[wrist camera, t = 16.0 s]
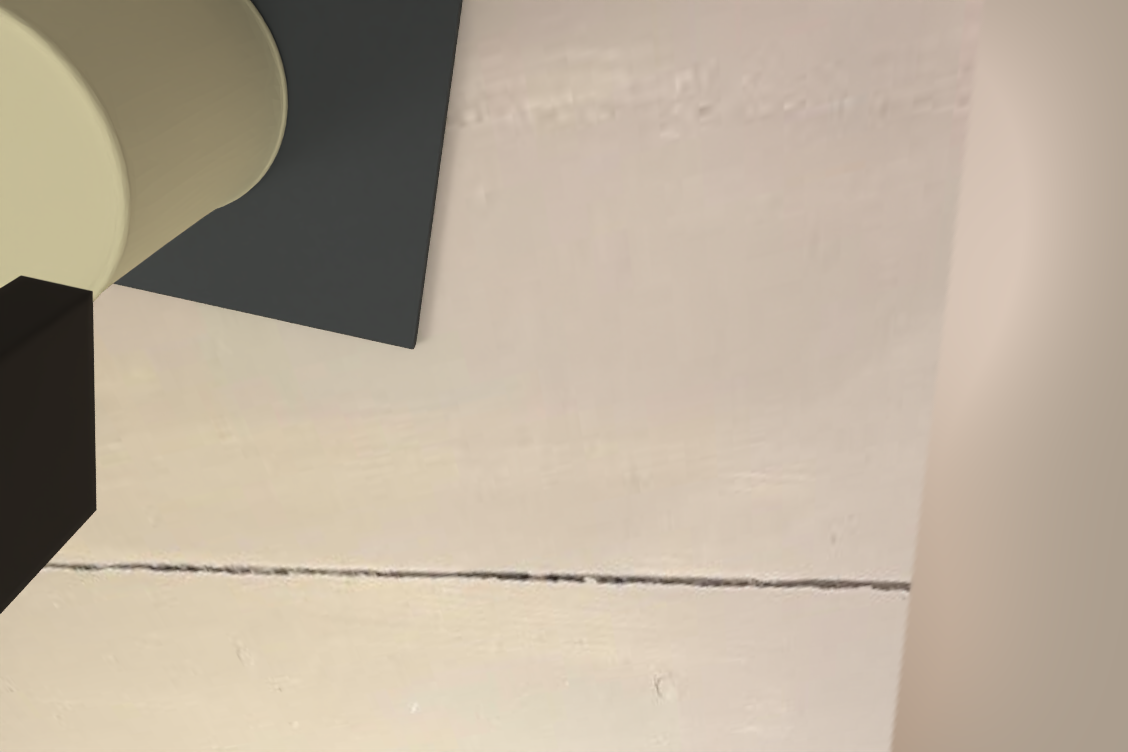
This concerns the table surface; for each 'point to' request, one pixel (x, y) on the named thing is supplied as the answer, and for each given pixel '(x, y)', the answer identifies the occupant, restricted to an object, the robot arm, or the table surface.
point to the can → (127, 128)
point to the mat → (333, 177)
